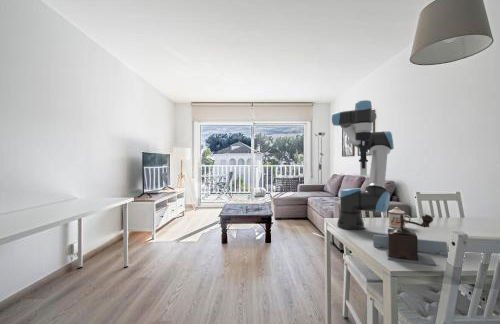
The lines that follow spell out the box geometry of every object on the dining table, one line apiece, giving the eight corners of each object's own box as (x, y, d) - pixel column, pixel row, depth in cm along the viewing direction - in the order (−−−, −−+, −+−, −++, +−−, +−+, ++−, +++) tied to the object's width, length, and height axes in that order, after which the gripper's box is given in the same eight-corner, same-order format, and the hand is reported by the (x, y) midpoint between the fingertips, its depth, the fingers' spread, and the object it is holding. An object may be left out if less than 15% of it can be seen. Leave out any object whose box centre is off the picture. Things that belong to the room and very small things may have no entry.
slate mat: (386, 250, 117) (386, 249, 117) (429, 255, 110) (429, 254, 110) (388, 259, 106) (388, 258, 106) (436, 265, 99) (436, 264, 99)
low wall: (373, 244, 125) (373, 234, 125) (445, 252, 114) (445, 240, 114) (373, 247, 122) (373, 236, 122) (447, 255, 110) (447, 243, 110)
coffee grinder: (388, 257, 106) (387, 212, 106) (387, 249, 116) (387, 208, 116) (434, 263, 100) (434, 216, 100) (429, 254, 110) (429, 211, 110)
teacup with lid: (390, 228, 157) (389, 208, 157) (386, 224, 165) (386, 205, 165) (413, 229, 153) (412, 209, 153) (408, 225, 162) (408, 206, 162)
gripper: (356, 135, 144) (356, 173, 144) (354, 129, 122) (354, 176, 122) (371, 134, 141) (371, 174, 141) (372, 129, 119) (372, 176, 119)
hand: (363, 175), depth 131 cm, fingers open, 13 cm apart
